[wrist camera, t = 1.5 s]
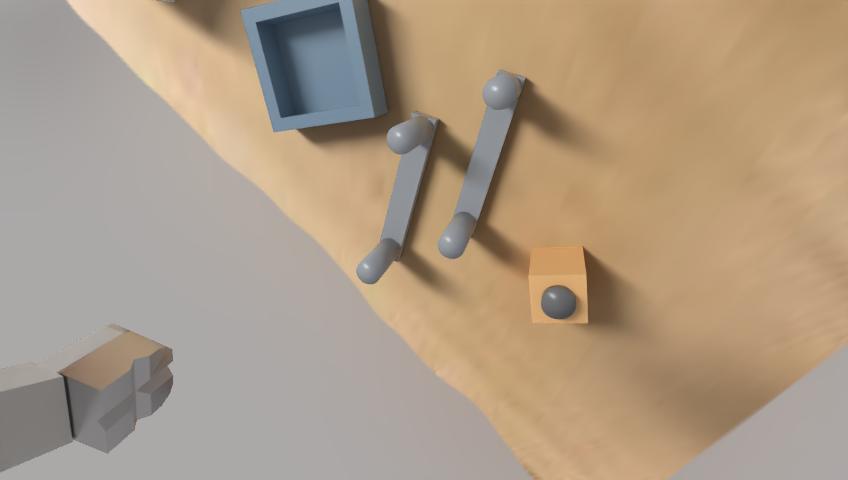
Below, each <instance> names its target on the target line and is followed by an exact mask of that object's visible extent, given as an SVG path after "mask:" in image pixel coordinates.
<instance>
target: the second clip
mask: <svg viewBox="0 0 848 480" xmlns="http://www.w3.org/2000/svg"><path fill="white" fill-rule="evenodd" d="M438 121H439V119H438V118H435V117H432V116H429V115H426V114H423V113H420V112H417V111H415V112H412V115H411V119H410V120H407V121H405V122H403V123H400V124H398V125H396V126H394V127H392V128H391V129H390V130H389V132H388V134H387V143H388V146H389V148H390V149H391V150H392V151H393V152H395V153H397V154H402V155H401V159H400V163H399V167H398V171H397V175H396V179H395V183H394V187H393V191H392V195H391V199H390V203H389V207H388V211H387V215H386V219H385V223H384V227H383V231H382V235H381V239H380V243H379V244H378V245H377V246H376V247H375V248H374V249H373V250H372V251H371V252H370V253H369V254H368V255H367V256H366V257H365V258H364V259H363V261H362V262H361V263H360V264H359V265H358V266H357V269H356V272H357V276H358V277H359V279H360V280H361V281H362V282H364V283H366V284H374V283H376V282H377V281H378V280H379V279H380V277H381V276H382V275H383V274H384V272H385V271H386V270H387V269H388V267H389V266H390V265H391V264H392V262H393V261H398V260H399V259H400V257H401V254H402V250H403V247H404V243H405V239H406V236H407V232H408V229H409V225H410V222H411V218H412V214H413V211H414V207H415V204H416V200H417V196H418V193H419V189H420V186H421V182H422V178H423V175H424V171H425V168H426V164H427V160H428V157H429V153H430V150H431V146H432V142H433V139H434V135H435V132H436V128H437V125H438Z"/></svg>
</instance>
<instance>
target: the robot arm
mask: <svg viewBox="0 0 848 480" xmlns="http://www.w3.org/2000/svg"><path fill="white" fill-rule="evenodd" d="M172 361H173V354H172V349H170V348H168V347H166V346H164V345H162V344H159V343H157V342H155V341H153V340H150V339H148V338H146V337H144V336H141V335H139V334H137V333H134V332H132V331H129V330H127V329H125V328H122V327H120V326H117V325H115V324H110V325H105V326H103V327H101V328H99V329H97V330H96V331H94V332H92V333H91V334H89V335H87V336H85V337H84V338H82V339H80V340H79V341H77V342H75V343H73V344H72V345H70V346H68V347H67V348H65V349H63V350H61V351H60V352H58V353H56V354H54V355H53V356H51V357H49V358H48V359H46V360H44V361H43V362H41V363H39V364H34V363H32V362H30V363H26V364H21V365H16V366H12V367H7V368H3V369H0V472H2V471H5V470H7V469H9V468H12V467H14V466H16V465H19V464H21V463H24V462H26V461H28V460H31V459H33V458H35V457H38V456H40V455H42V454H45V453H47V452H49V451H52V450H54V449H57V448H59V447H61V446H64V445H66V444H69V443H71V442H72V441H73V440H76V441H78V442H81V443H83V444H85V445H88V446H90V447H93V448H95V449H98V450H100V451H102V452H105V453H109V452H110V451H111V450H112V449H113V448H114V447H115V446H117V445H118V444H119V443H120V442H121V441H122V440H123V439H125V438H126V437H127V436H128V435H129V434H130V433H132V432H133V431H134V430H135V425H136V422H137V420H138V419H141V418H144V417H147V416H150V415H152V414H153V413H154V412H155V411H156V410H157V409H158V408H159V407H161V406H162V404H163V403H164V401H165V400H166V398H167V397H168V395H169V394H170V391H171V388H172V385H173V375H172V373H171V371H170V369H169V368H168V366H167V365H169V364H170V363H171V362H172Z"/></svg>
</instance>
